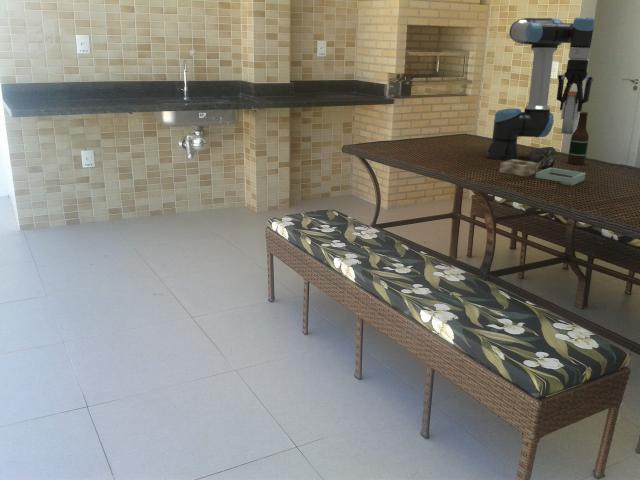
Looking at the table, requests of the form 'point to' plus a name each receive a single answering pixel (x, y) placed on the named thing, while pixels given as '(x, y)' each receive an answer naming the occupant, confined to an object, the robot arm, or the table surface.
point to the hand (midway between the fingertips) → (569, 119)
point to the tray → (562, 180)
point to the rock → (543, 157)
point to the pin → (569, 112)
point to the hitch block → (519, 167)
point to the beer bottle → (579, 142)
